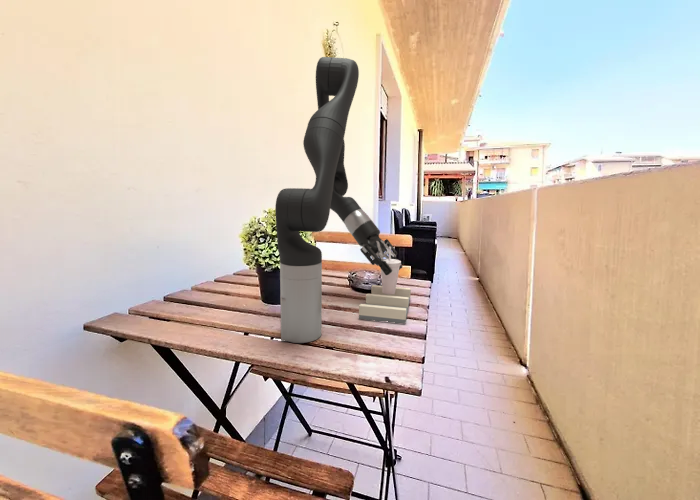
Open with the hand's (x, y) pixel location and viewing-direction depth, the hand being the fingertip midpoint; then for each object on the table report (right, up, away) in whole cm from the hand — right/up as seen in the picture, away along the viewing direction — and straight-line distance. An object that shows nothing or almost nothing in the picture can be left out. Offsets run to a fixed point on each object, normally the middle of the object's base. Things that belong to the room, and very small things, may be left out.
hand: (394, 271), depth 98 cm
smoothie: (-2, -7, +2) cm, 7 cm away
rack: (-3, -11, -2) cm, 11 cm away
